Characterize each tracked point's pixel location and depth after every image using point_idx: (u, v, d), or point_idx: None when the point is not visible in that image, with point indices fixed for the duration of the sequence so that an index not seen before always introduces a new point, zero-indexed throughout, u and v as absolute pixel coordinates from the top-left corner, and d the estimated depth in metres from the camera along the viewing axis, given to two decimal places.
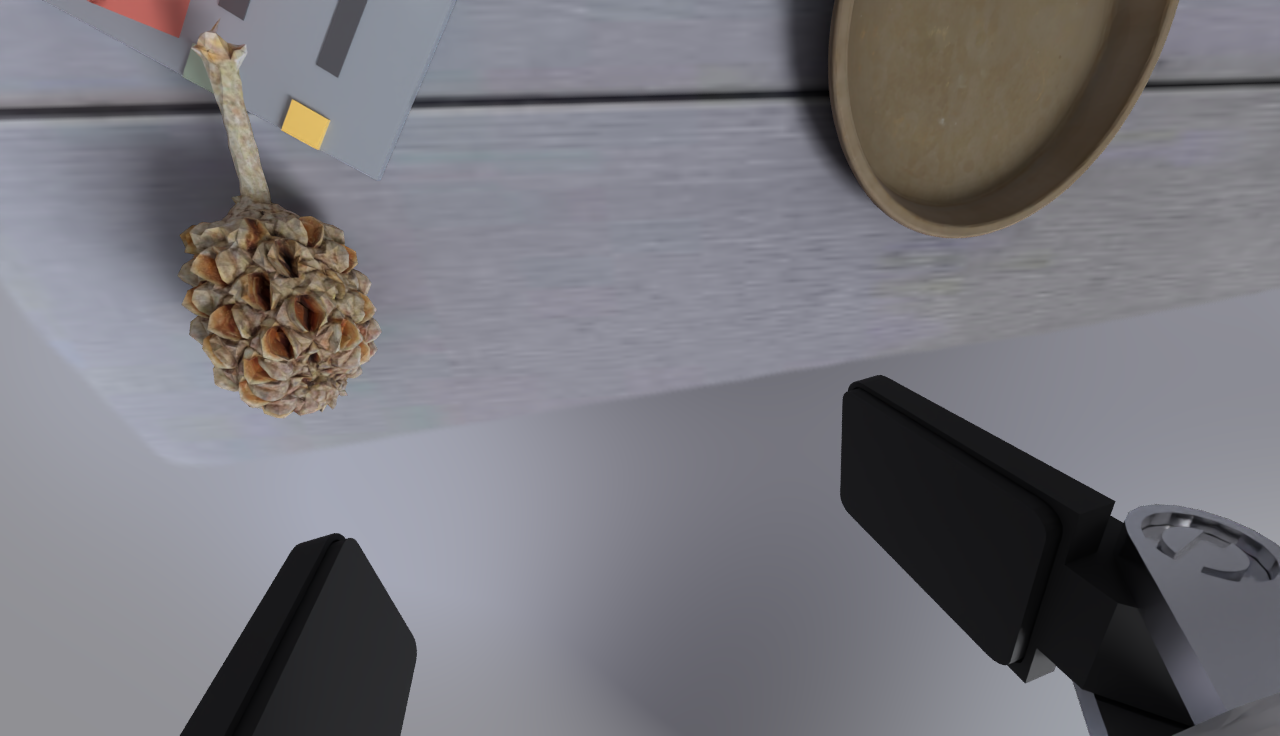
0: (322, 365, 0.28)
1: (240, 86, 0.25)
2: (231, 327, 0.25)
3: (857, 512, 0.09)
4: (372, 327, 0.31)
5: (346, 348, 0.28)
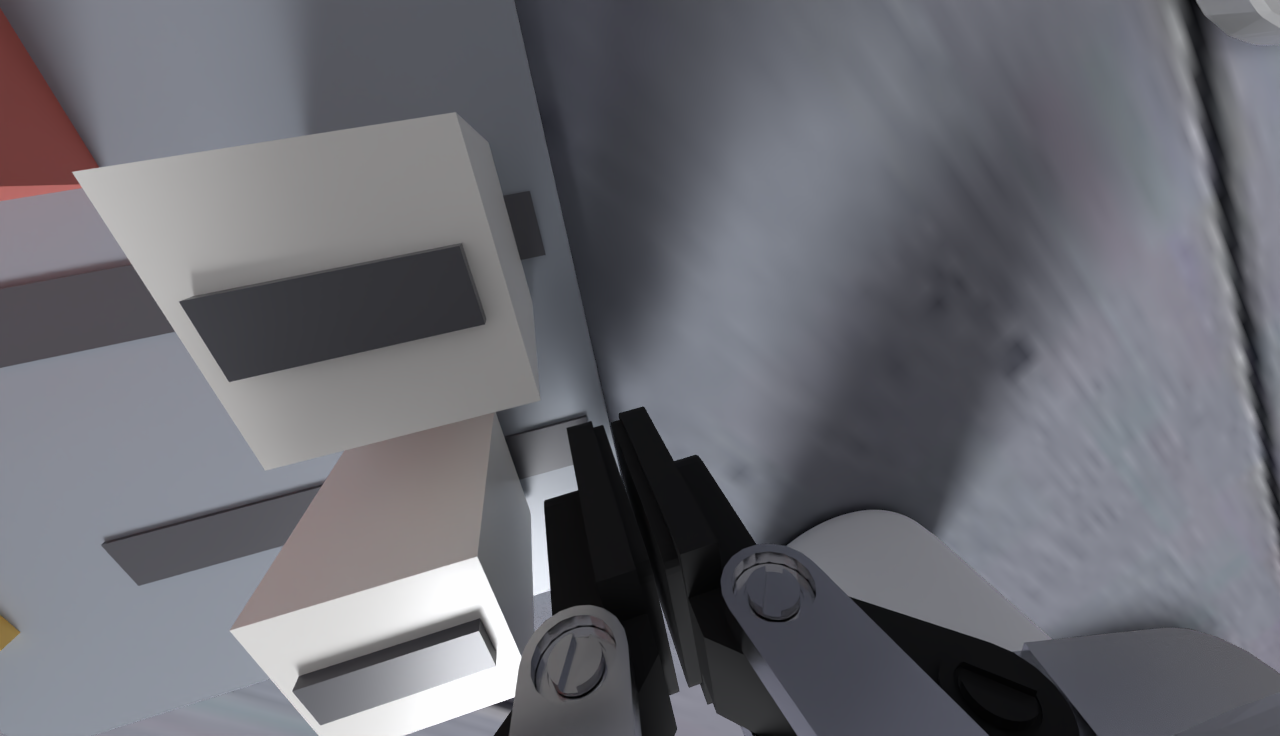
0: None
1: None
2: None
3: None
4: None
5: None
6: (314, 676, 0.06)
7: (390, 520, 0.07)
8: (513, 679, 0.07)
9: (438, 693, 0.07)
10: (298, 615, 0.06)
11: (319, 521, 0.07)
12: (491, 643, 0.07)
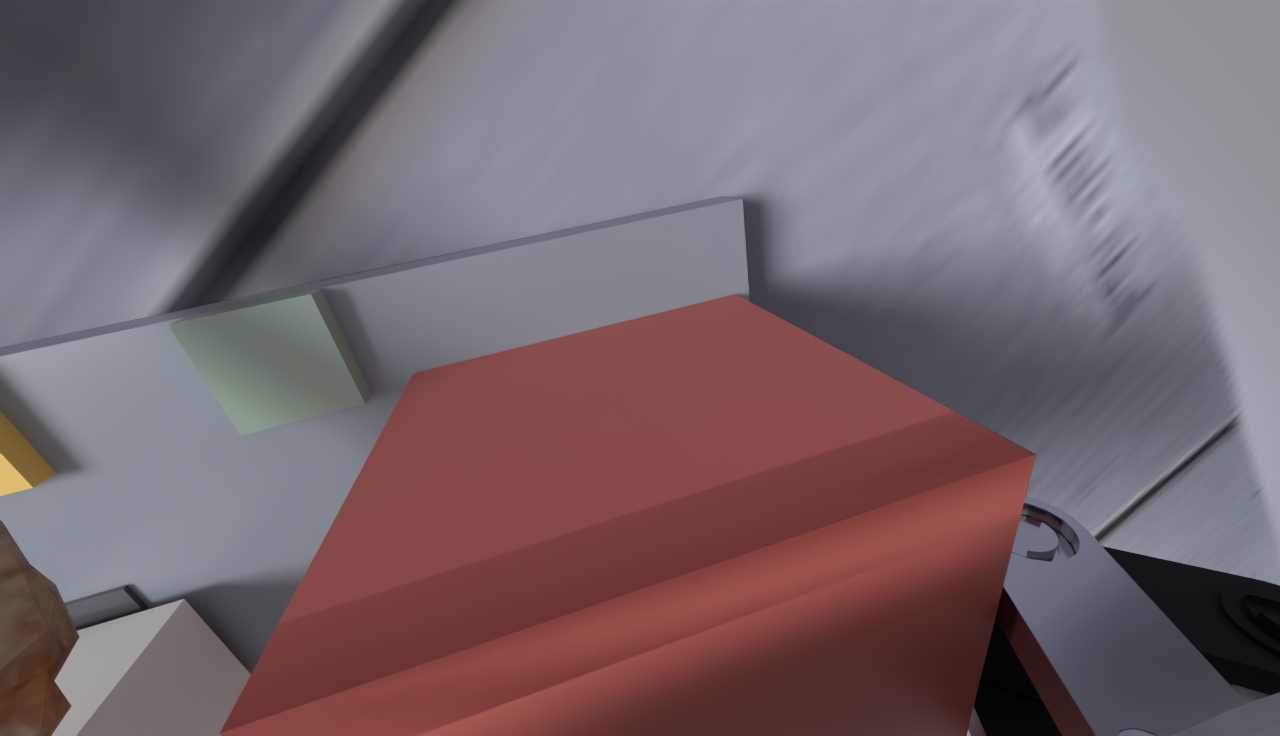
0: None
1: None
2: None
3: None
4: None
5: None
6: None
7: None
8: None
9: None
10: None
11: None
12: None
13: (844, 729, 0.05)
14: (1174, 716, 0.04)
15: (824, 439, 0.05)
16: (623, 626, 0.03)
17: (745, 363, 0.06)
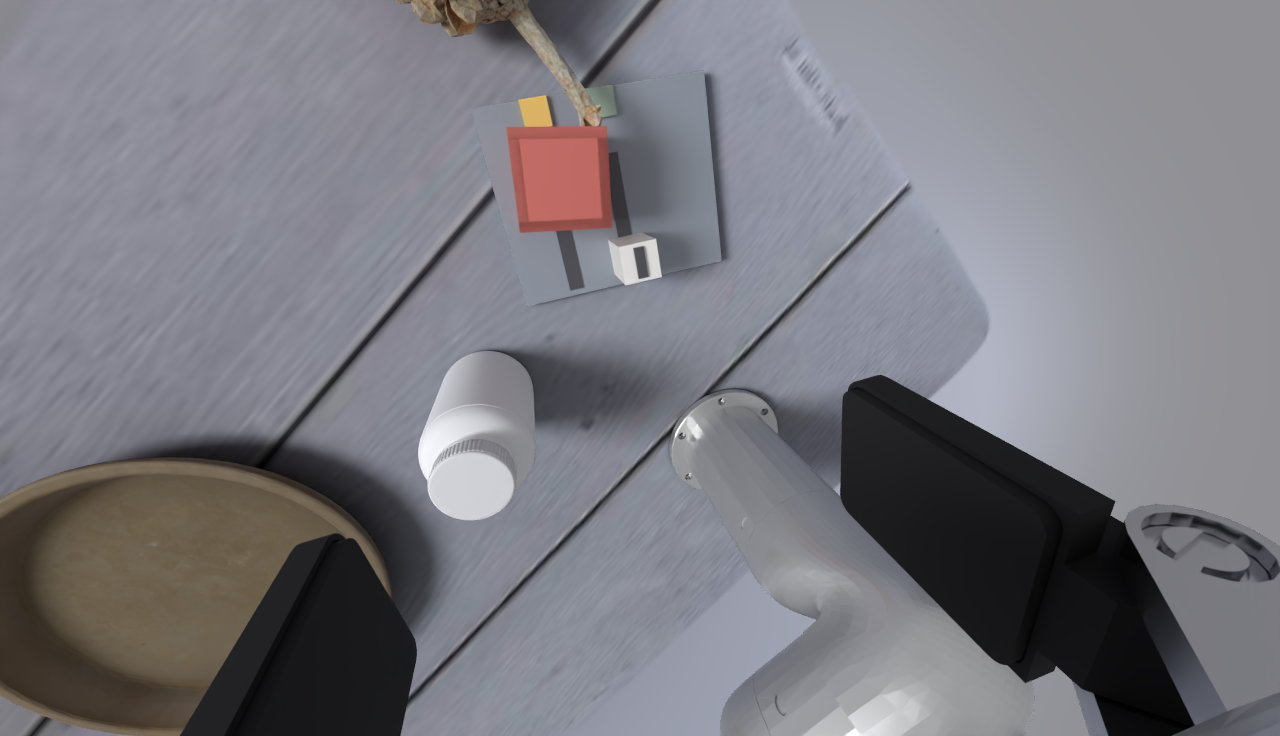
0: None
1: (572, 102, 0.31)
2: None
3: (857, 512, 0.09)
4: None
5: None
6: None
7: None
8: None
9: None
10: None
11: None
12: None
13: (583, 177, 0.30)
14: None
15: None
16: (549, 132, 0.29)
17: None
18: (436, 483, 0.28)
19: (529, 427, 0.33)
